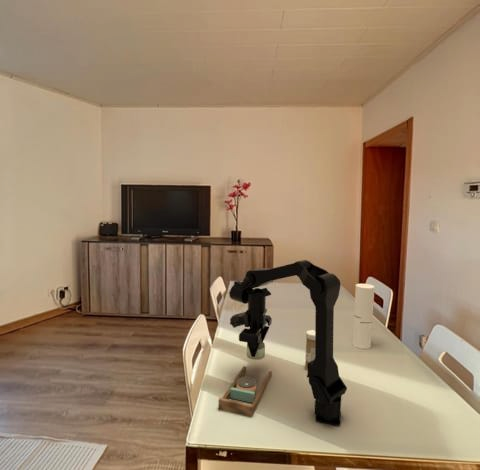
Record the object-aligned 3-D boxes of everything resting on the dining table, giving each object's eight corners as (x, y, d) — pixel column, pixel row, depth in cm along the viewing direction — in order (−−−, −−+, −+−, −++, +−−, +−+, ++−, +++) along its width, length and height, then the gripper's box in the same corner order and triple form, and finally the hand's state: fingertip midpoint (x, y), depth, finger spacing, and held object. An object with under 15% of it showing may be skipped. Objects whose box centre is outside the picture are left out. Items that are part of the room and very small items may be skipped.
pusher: (254, 400, 105) (255, 391, 104) (253, 403, 104) (253, 394, 103) (231, 395, 107) (231, 387, 107) (230, 398, 106) (230, 389, 106)
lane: (271, 376, 119) (271, 367, 119) (252, 417, 97) (252, 406, 97) (243, 371, 122) (243, 362, 122) (218, 409, 101) (218, 399, 100)
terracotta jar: (258, 390, 111) (258, 378, 110) (252, 400, 105) (253, 388, 105) (240, 386, 113) (240, 374, 112) (233, 396, 107) (234, 384, 107)
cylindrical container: (357, 340, 150) (360, 282, 147) (373, 345, 145) (377, 286, 142) (349, 344, 145) (352, 285, 142) (365, 350, 140) (369, 289, 137)
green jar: (266, 353, 119) (266, 341, 118) (262, 360, 113) (262, 349, 113) (249, 350, 121) (249, 339, 120) (244, 358, 115) (244, 346, 115)
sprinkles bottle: (303, 365, 127) (304, 329, 125) (315, 365, 127) (317, 329, 126) (306, 372, 122) (308, 334, 121) (319, 371, 123) (321, 334, 121)
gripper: (242, 296, 126) (241, 338, 128) (223, 313, 109) (222, 361, 111) (272, 299, 123) (271, 342, 125) (258, 317, 105) (257, 367, 107)
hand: (255, 352), depth 117 cm, fingers closed on green jar, 6 cm apart
